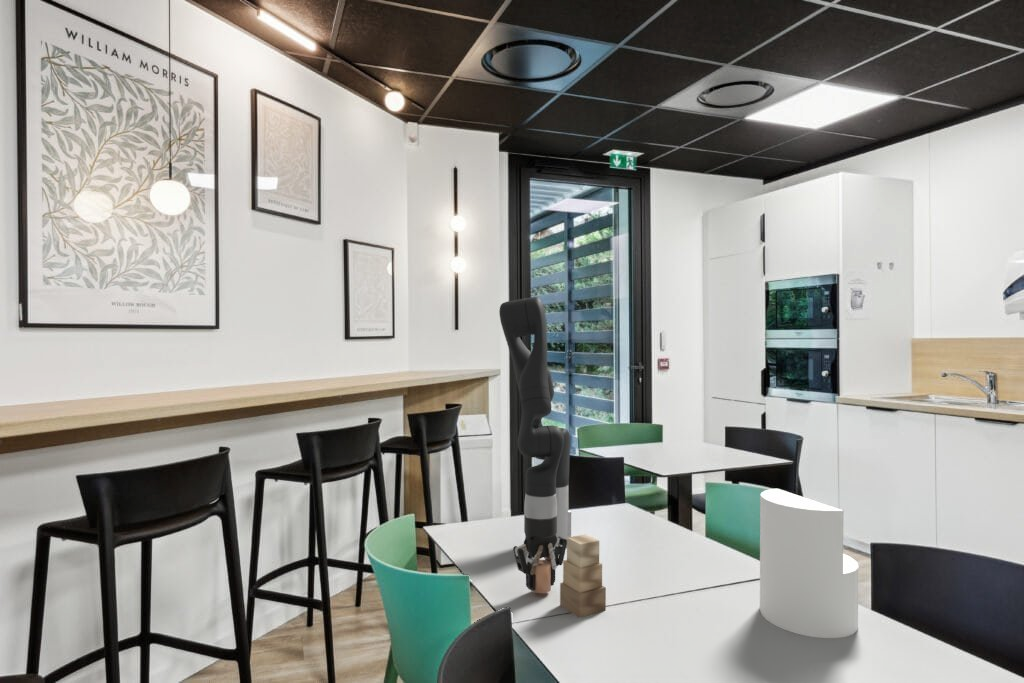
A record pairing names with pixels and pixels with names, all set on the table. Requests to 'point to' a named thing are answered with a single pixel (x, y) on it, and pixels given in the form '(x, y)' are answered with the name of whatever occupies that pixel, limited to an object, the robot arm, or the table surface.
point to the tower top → (583, 550)
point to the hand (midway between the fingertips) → (540, 586)
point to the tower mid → (582, 576)
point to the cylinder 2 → (806, 567)
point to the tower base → (583, 600)
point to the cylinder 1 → (543, 577)
